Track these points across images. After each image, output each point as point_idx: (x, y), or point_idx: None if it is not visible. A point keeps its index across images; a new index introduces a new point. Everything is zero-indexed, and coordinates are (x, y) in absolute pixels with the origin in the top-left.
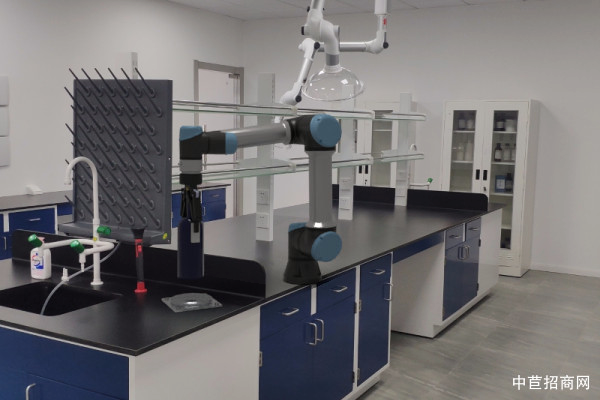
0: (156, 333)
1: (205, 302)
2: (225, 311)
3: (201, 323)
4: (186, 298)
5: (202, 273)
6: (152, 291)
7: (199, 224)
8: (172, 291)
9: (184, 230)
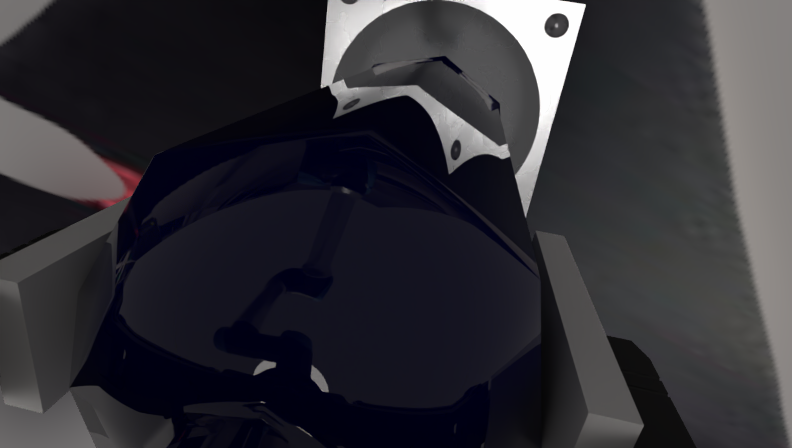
0: (706, 400)
1: (538, 91)
2: (671, 37)
3: (741, 229)
4: None
5: (481, 94)
6: None
7: (630, 398)
8: (189, 84)
9: None
